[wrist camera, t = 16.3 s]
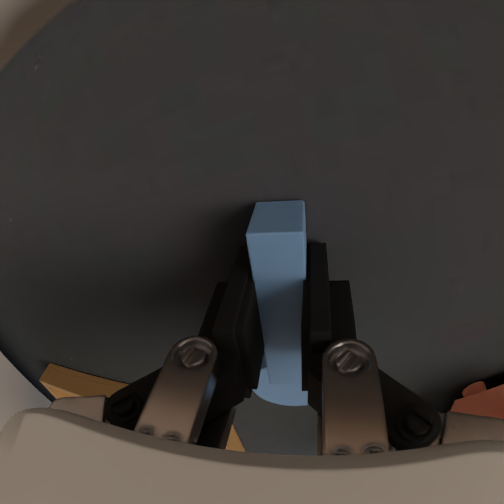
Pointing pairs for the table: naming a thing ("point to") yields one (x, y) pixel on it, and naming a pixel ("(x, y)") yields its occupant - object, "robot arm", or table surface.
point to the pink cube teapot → (481, 401)
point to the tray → (97, 390)
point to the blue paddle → (279, 296)
